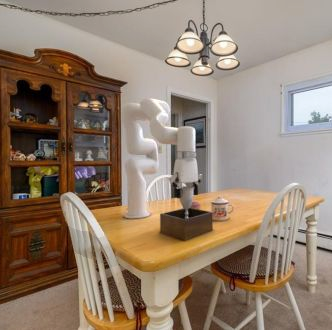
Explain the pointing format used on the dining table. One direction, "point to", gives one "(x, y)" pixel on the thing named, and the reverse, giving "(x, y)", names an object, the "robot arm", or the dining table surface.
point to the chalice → (186, 198)
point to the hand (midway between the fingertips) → (186, 196)
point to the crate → (186, 223)
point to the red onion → (195, 205)
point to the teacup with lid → (220, 209)
